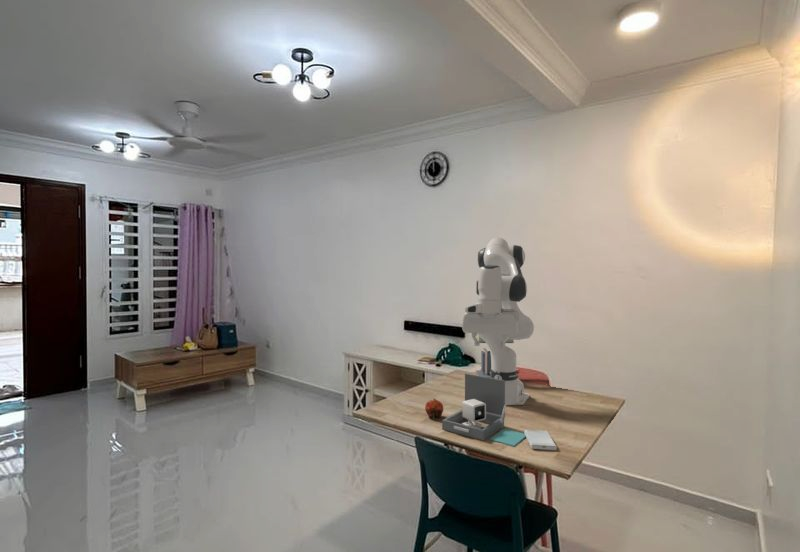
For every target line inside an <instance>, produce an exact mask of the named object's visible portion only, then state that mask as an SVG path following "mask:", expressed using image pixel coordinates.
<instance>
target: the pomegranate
mask: <svg viewBox="0 0 800 552" xmlns="http://www.w3.org/2000/svg"><path fill="white" fill-rule="evenodd" d="M424 410H425V412H426V414H427V415H428V417H430V418H431V417H432V421H434V419H435V416H436V418H437V417H438V418H439V417H441V416H442V415H443V412H444V405H443V403H442V402H441V401H439V400H437V399H436V398H433V399H432V400H429V401H427V402H426V403H425V407H424Z"/></svg>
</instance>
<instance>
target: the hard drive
mask: <svg viewBox="0 0 800 552" xmlns="http://www.w3.org/2000/svg"><path fill="white" fill-rule="evenodd" d="M523 434H525V436H526V437H525V438H526V441H528V444H529V446H530V447H531V449H532V450H546V451H557V448H558V447H557V445H556V443H555V442H554V439H553V438H552V436H551V435H550V434H549V432H548V430H540V429H539V430H537V429H524V433H523Z"/></svg>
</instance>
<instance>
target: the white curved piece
mask: <svg viewBox="0 0 800 552" xmlns="http://www.w3.org/2000/svg"><path fill="white" fill-rule="evenodd" d="M476 338H477V340H478V341H480V343H479V344H487V343H486V342H485V341H484V340H483V339H482V338H481V337H479V336H478V334H477V336H476ZM502 342H503V340H502ZM514 342H515V341H514V340H510V339H507V341H506V342H505V344H515V343H514ZM480 356H481V357H480V367H481V368H480V370H475V372H476V373H477V376H483V377H488V378H491V377H490V369H491V353H490V350H487V348H484V347H483V348H482V350H480Z"/></svg>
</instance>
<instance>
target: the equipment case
mask: <svg viewBox="0 0 800 552" xmlns="http://www.w3.org/2000/svg"><path fill="white" fill-rule="evenodd" d="M471 399H476V400H478V401H481V402H483V403H485V404H486V419H485V420H482V421H479V422H480V423H484V422H485V423H484V424H488V425H486V426H485V427H482V428H481V429H479V428H475V427H471V426H467V425H463V424H462V423H459V422H461V421H463V420H465V419H466V418H464V417H463V416H462V409H460V410H459V411H457V412H454V413H453V414H452V415H449V416H447V417H445V418H444V419H442V421H441V423H442V424H441V429H442V430H443V431H447V432H450V433H454V434H458V435H462V436H465V437H468V438H472V439H476V440H479V441H482V442H484V441H485V440H486V439H488V438H489V437H491V436H492V435H495V433H498V431H501V429H502V428H504V427H505V419H506V407H507V405H505V380H500V379H494V378H488V377H483V376H479V375H478V374H477V375H476V374H471V373H464V401H466V400H471Z"/></svg>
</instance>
